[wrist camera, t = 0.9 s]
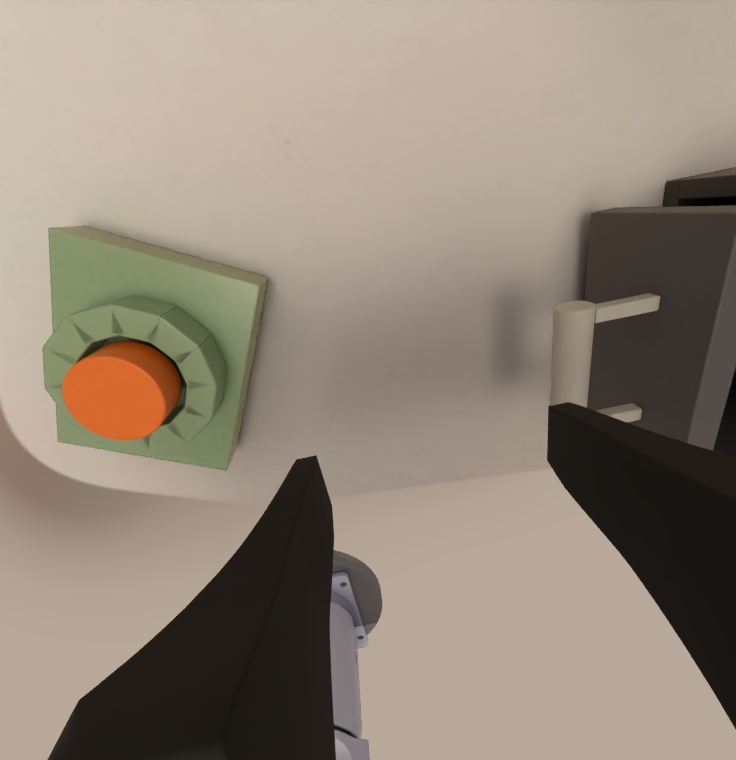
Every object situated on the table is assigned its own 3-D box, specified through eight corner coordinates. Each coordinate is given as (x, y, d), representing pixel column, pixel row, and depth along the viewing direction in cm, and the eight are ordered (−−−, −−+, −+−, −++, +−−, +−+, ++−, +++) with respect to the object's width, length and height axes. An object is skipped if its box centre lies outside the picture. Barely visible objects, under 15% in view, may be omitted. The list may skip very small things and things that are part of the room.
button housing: (237, 446, 21) (217, 495, 18) (84, 419, 20) (29, 465, 16) (268, 276, 17) (251, 293, 14) (83, 225, 16) (9, 229, 12)
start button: (178, 426, 16) (162, 448, 15) (89, 409, 16) (62, 431, 14) (186, 352, 15) (169, 369, 13) (89, 330, 14) (59, 345, 13)
